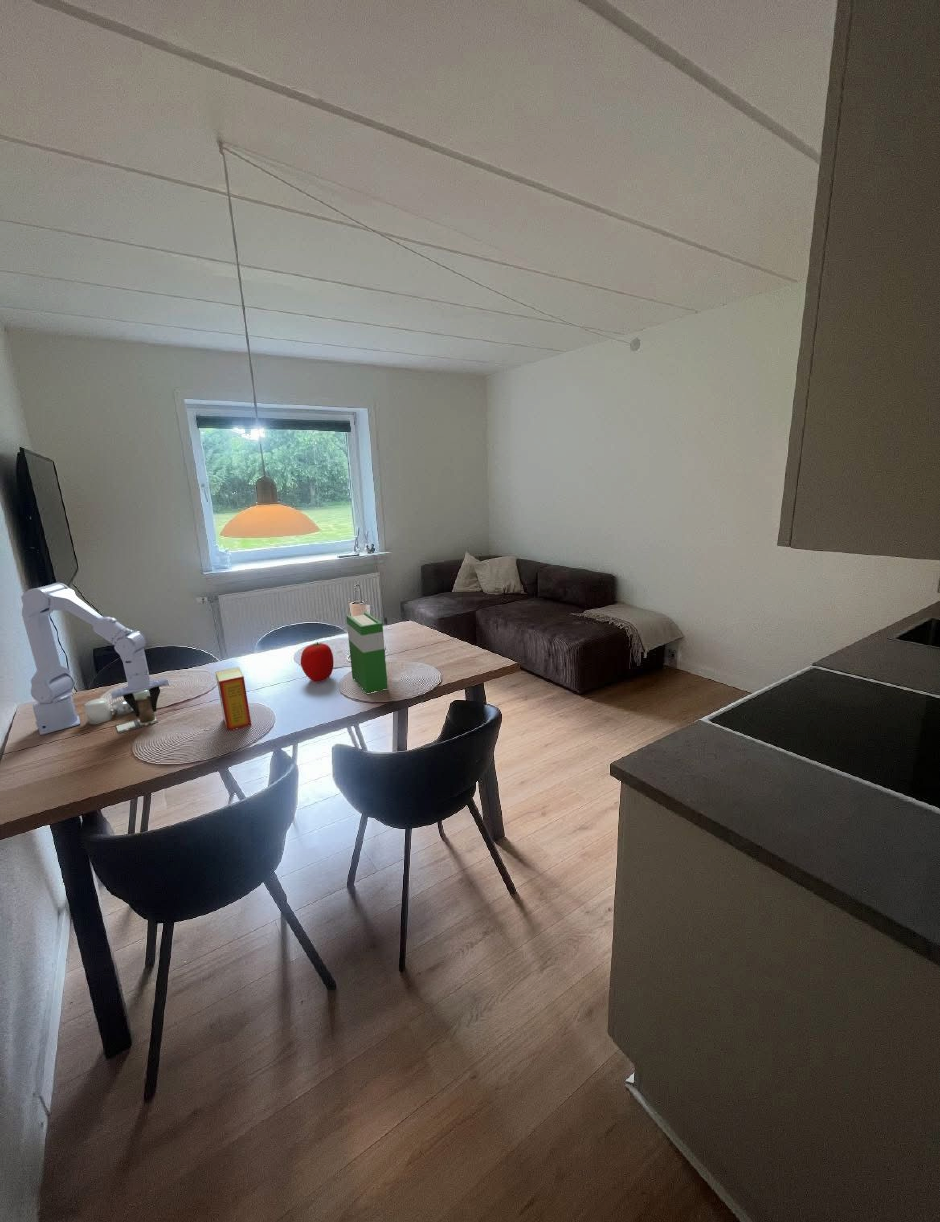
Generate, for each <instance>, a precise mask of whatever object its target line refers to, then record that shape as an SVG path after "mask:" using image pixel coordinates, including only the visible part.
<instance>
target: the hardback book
mask: <svg viewBox="0 0 940 1222" xmlns="http://www.w3.org/2000/svg"><path fill="white" fill-rule="evenodd" d="M345 619H346V626H347V636H348V637H347V638H348V645H349V646H348V647H349V658H350V667H351V668H350V669H351V677H352V679H353V680H354V679H355V680H354V681H355V683H356V682H357V683H358V684H359V685H360V686H361V687H362V688H363V690H364V691H365V692H366V693H371V692H374V691H381V690H383V689H387V688H389V686H388V685H389V684H388V676H387V664H386V663H387V661H386V652H385V649H386V648H385V640H384V639H385V637H384V624H383V622H381V621H380V620H378V619H377V618H376V617H374V616H372V615H371V614H370V613H368V612H367V611H365V612H363V614H361V615H355V616H351V615H350V614H346V617H345ZM357 683H356V684H357ZM358 684H357V685H358ZM359 685H358V686H359ZM360 686H359V687H360ZM361 687H360V688H361ZM362 688H361V689H362ZM363 690H362V691H363ZM364 691H363V692H364ZM365 692H364V693H365ZM381 692H382V691H381ZM366 693H365V694H366Z"/></svg>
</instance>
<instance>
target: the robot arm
mask: <svg viewBox="0 0 940 1222" xmlns="http://www.w3.org/2000/svg"><path fill="white" fill-rule="evenodd" d="M20 598H21V601H22V608H21V617H22V620H23V623H24V628H25V631H26V635H27V639H28V642H29V646H30V650H31V653H32V657H33V661H34V664H35V667H36V672H35V673H34V674H33V676H32V677H31V680H30V682H31V687H30V695H31V697H32V699H33V700H35V701H37V702H35V703H32V709H33V713H34V717H35V724H36V728H38V731H39V735H41V736H43V735H46V734H50V733H53V732H57V731H61V730H64V729H68V728H72V727H75V726H79V725H81V720H80V715H79V714H77V712H76V708H75V703H74V699H73V696H72V694H73V689H74V688H75V686H76V681H75V679H74V676H72V674H71V673H70V670H69V668H68V667H65V666H64V665H61V661H60V657H59V654H58V653H59V652H58V650H57V646H56V642H55V638H54V634H53V630H52V626H51V625H52V624H51V623H50V622H51V621H50V619H49V618H50V617H49V616H50V615H51V614H52V613H53V611H66V612H69V614H70V613H71V614H72V615H74V616H75V617H78V618H80V619H81V620H83V621H85V622H86V623H88V624H89V625H91V626H92V627H93V628H92V629H93V632H94V633H95V634H97V635H99V636H100V637H102V638H103V639H105V640H106V641H107V642H109V643H110V644H112V645H113V646H114V647H113V648H114V650H115V652H116V653H117V654H118V655H119V656H120V657H119V658H120V660H121V661H122V663H123V669H124V673H125V677H126V678H125V679H126V683H127V686H125V687H122V688H118V689H115V690H112V691H110V696H111V698H112V700H115V699H117V698H121V697H122V698H123V700H125V701H126V702H127V703H128V704H129V705H130V706H131V708H132V711H133V712H134V715H135V717H136V718H139V713H138V710H137V707H136V702H135V698H134V695H133V694H134V693H138V692H142V691H146V690H149V693H150V697H151V701H152V706H153V711H154V713H155V712H157V705H158V704H157V703H158V700H159V696H160V694H161V689H160V688H161V687H167V686H170V685H169V679H168V678H161V679H155V680H151V677H150V672H149V667H148V662H147V658H146V653H145V647H146V645H147V638H146V636H145V635H144V634H143V632H142V631H139V630H133V629H130V628H128V627H126V626H124V625H123V624H122V623H120V622H119V621H118V619H117V618H115V617H111V616H102V615H101V614H100V613H99V612H97V610H95V609H93V608H92V607H91V606H89V604H87V603H85V602H84V601H83V600H82V599H81V598H79V597H78V596H77V595H76V592H75V590H74V589H72V588H70V587H69V586H68V585H66V584H65V583H62V582H54V583H52V584H48V585H45V586H44V585H43V586H40V587H36V588H30V589H28V590H27V591H25V593H23V595H21V597H20Z"/></svg>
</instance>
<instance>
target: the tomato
mask: <svg viewBox="0 0 940 1222" xmlns="http://www.w3.org/2000/svg"><path fill="white" fill-rule="evenodd" d="M333 654H334V653H333V651H332V649H331V647H330V646H329V645H328V644H325V643H322V642H316V643H312V644H310V645H308V646H306V647H305V648H304V649H303V650H302V653H301V656H300V665H301V670H302V671H303V673H304V674H305V676H306V677H307V678H308V679H309V680H311V681H312V682H316V683H320V682H323V681H326V680H327V679H328V678H330V676H331V675H332V673H333V671H334V655H333Z"/></svg>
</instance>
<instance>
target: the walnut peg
mask: <svg viewBox="0 0 940 1222" xmlns="http://www.w3.org/2000/svg"><path fill="white" fill-rule="evenodd" d="M135 702H136V707H137V710H138V713H139V716H138V719H139V720H140V722H141V723H145V722H149V721H152V720H154V719H155V717H156V716H155V712H154V711H153V706H152V701H151V697H150V696H143V697H139V698H137V699H136V700H135Z"/></svg>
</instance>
